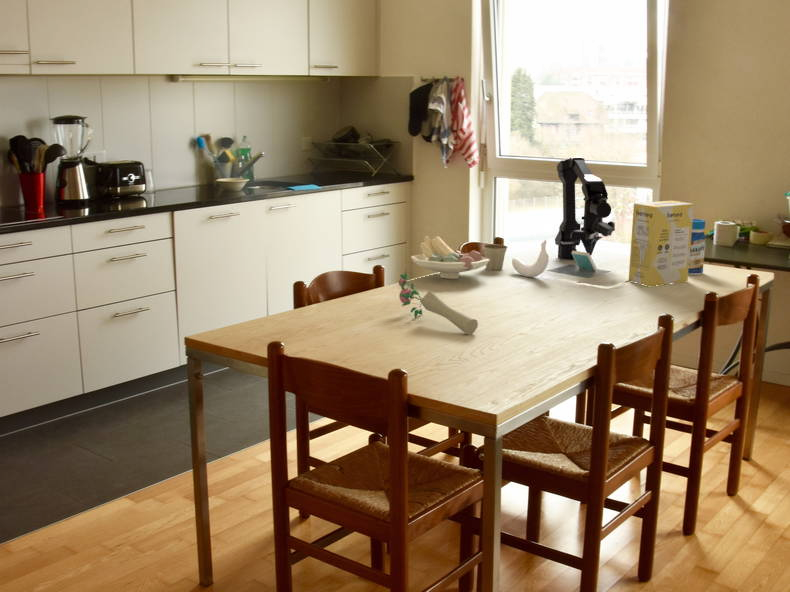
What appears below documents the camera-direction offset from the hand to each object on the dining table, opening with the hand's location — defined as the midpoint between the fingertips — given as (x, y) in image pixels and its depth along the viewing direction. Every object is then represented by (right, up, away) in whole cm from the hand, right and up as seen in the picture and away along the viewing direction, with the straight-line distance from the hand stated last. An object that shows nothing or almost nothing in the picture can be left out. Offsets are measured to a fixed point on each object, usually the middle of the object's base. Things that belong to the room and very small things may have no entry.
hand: (589, 255), depth 329 cm
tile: (0, -5, +1) cm, 5 cm away
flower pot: (-35, -5, +5) cm, 36 cm away
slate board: (-4, -7, -2) cm, 8 cm away
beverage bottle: (+38, -7, -1) cm, 39 cm away
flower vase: (-62, -23, -70) cm, 96 cm away
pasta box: (+21, -10, -15) cm, 28 cm away
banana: (-24, -8, -7) cm, 27 cm away
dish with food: (-53, -9, -10) cm, 55 cm away
